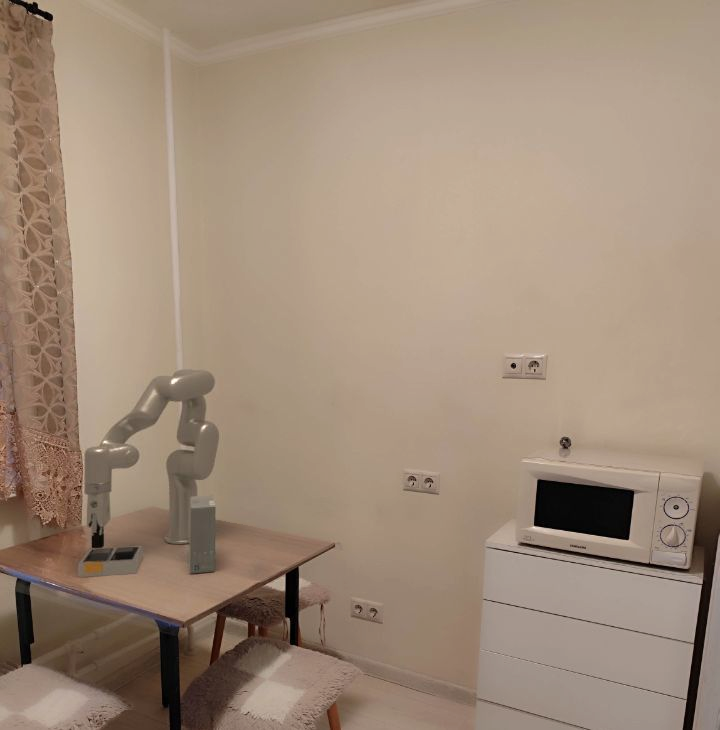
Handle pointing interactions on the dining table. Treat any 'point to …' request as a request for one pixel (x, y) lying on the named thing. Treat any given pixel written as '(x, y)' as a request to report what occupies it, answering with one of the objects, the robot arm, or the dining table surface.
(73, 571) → the dining table surface
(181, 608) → the dining table surface
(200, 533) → the hard drive box
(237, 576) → the dining table surface
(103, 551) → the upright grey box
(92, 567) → the grey divided tray
